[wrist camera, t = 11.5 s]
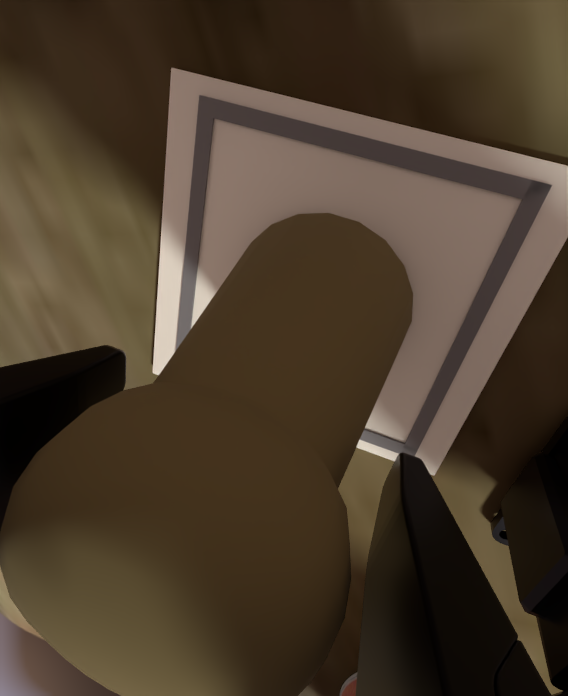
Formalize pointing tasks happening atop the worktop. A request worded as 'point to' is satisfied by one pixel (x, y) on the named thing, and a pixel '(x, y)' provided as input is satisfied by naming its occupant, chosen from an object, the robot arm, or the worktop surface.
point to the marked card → (376, 214)
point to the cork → (218, 481)
